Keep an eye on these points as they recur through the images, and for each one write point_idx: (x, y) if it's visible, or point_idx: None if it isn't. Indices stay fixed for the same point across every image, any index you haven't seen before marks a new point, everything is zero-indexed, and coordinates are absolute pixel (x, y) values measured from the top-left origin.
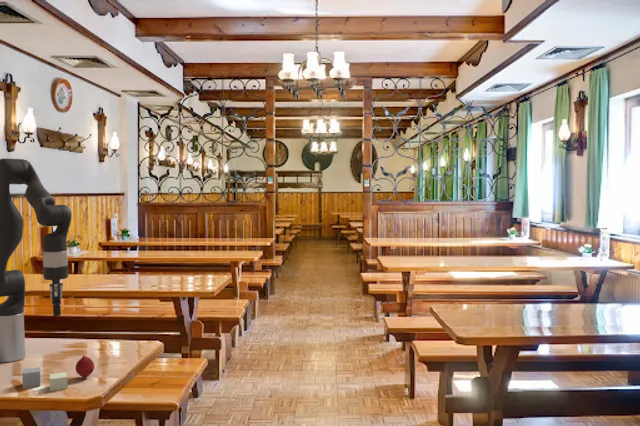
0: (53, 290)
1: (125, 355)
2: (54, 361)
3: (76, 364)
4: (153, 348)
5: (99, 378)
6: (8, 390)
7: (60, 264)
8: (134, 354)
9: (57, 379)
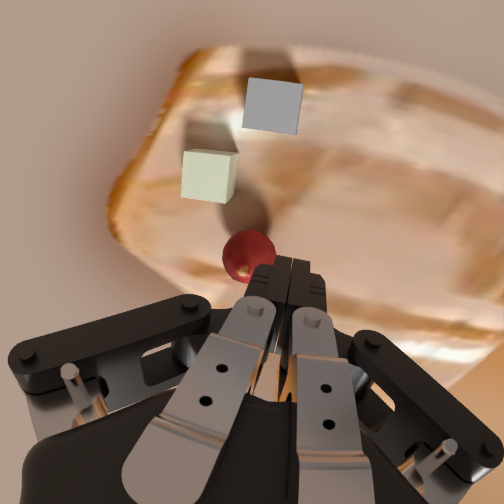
0: (91, 421)
1: None
2: (457, 208)
3: (249, 239)
4: None
5: None
6: (265, 51)
7: None
8: None
9: (183, 170)
